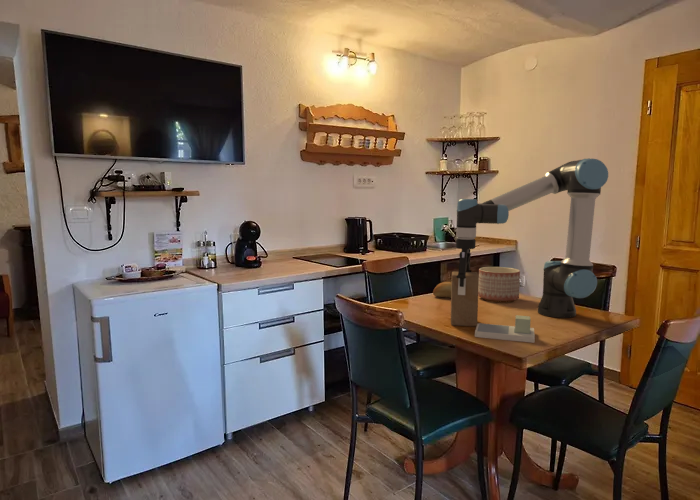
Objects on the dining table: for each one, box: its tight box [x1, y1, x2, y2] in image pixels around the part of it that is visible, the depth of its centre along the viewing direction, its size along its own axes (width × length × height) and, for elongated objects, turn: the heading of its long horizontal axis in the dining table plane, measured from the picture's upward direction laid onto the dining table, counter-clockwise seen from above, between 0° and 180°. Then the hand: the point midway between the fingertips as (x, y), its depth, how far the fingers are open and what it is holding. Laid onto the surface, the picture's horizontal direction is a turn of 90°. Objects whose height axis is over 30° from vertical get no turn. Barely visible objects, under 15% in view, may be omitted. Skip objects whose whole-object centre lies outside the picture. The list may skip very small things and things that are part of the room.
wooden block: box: [450, 271, 479, 328], centre depth 185 cm, size 10×10×20 cm
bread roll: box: [432, 281, 452, 298], centre depth 234 cm, size 10×15×8 cm, turn 76°
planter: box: [478, 266, 521, 303], centre depth 229 cm, size 19×19×15 cm
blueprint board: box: [474, 322, 536, 344], centre depth 169 cm, size 20×12×2 cm, turn 70°
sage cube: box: [514, 314, 532, 334], centre depth 166 cm, size 5×5×5 cm
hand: (463, 291), depth 184 cm, fingers open, 13 cm apart
